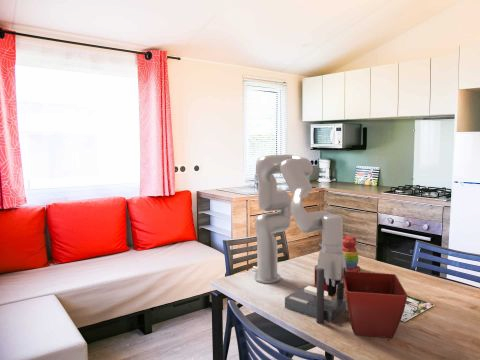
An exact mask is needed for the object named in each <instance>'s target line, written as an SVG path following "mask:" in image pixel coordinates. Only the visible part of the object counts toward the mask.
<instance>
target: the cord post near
mask: <svg viewBox="0 0 480 360" xmlns="http://www.w3.org/2000/svg"><path fill="white" fill-rule="evenodd" d="M315 319H316V320H315V321H316V324H318V325H323V324H324V322H325V321H324V269H323V268H318V269H317V311H316V318H315Z"/></svg>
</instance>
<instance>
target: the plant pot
mask: <svg viewBox="0 0 480 360" xmlns="http://www.w3.org/2000/svg"><path fill="white" fill-rule="evenodd" d="M397 276H398V275H396V274H394V273H380V272H368V271H367V272H365V271H359V272H352V271H346V277H344V275H343V285H344V297H345V300H346V307H347V311H348V317H349V322H350V327H351V329H352V332H353V335H356V336H366V337H367V336H368V337H376V338H387V339H392V338H393V337H394V336H395V334H396V332H397V330H398V328H399V325H400V322H401V320H402V317H403V315H404V313H405V308H406V304H407V299H408V294H407V292H406V291H405V288H404V286H403V285H402V284H401V282H400V280H399V279H398V277H397ZM345 278H346V281H345Z"/></svg>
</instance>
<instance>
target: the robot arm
mask: <svg viewBox="0 0 480 360" xmlns="http://www.w3.org/2000/svg"><path fill="white" fill-rule="evenodd" d="M256 163H257V164H256V169H255V171H256V176H257V180H258V183H257V184H258V188H257V189H258V192H257V193H258V195H257V196H258V207H259V209H260V210H261V211H262V212H267V213H263V214H260V215H258V216H257V217H256V218H255V221H254V227H255V233H256V243H257V245H256V246H257V247H256V248H257V249H256V250H257V254H256V255H257V259H256V260H257V262H256V263H257V264H256V265H257V266H256V265H253V266H252V268H251V272H254V273H255V275H254V277H253V279H254V280H255V281H256V282H259V283H262V284H274V283H277V282H279V281H280V280H282V279H281V278H282V277H281V275H280V274H279V273H278V241H277V239H276V238H275V237H276V236H275V235H274V234H276V233H281V232H285V231H287V230H289V229H290V226H291V220H292V219H291V217H292V218H293V219H294V222H295V224H296V225H297V227H298V228H299V230H300V231H301V232H303V233H306V234H307V233H315V232H321V242H318V247H319V246H320V247H321V249H319V252H318V258H317V264H316V265H317V269H318V268H323V269H324V281H325V282H326V284H327V292H328V295H329V296H333V295H335V294H337V284H338V283H343V275H344V277H346V260H345V254H344V252H343V236H344V235H343V232H344V231H343V230H344V229H343V227H344V224H343V223H344V221H343V217H342V216H341V215H339V214H332V213H331V212H329V211H326V210H319V211H311V212H307V211H306V209H305V207H304V205H303V198H305V197H306V196H308V195H309V193H311V191H312V188H313V186H312V184H311V182H310V180H309V179H308V178H309V177H310V176H311V175H312V174H313V171H314V166H313V163H312V162H311V160H310V159H308V158H306V157H303V156H299V155H294V154H270V155H269V154H268V155H265V156H264V155H263V156H262V157H260V158H259V159H258V160H257V162H256ZM275 174H276V175H279V174H280V175H282V177H283V178H284V181H285V183H286V185H287V187H288V189H289V191H290V192H291V194H292V195H290V194H289V192H288V191H287V190H285V189H277V185H278V184H277V178H276V176H275ZM291 196H292V198H291ZM273 211H276V212H273ZM268 212H269V213H268ZM332 279H333V280H332ZM345 281H346V278H345Z"/></svg>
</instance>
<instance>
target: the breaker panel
mask: <svg viewBox="0 0 480 360" xmlns="http://www.w3.org/2000/svg"><path fill="white" fill-rule="evenodd" d="M304 288H305V287H300V288H298V289H296V290H295V291H293V292H292V293H290V294H289V295H287V296H286V297H284V309H288V310H291V311H295V312H297V313H300V314H303V315H306V316H309V317H313V318H315V319H316V311H317V296H315V295H312V294H309V293H306V292H304ZM345 311H347V302H346V299H341V298H335V299H334V300H333V301H330V300H327V299H324V322H327V323H331V324H332V323H333V322H335V320H337V319H339V317H340V316H342V314H344V312H345Z"/></svg>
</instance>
